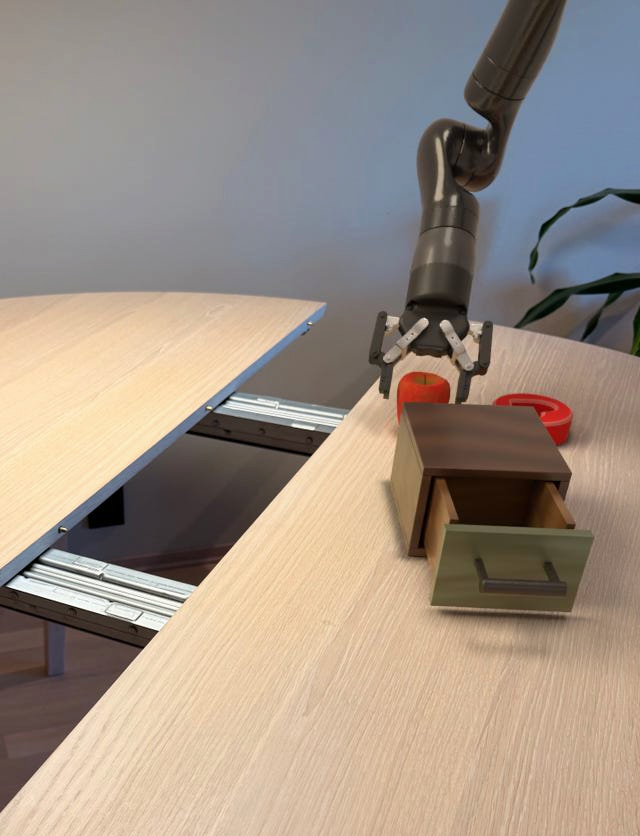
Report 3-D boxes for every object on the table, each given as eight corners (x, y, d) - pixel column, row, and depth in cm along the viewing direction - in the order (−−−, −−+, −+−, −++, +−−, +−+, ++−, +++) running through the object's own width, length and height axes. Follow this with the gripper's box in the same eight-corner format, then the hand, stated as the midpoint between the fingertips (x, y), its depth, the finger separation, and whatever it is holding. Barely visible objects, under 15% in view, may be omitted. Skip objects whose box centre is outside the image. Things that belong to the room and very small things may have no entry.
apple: (447, 429, 123) (458, 371, 119) (434, 447, 119) (446, 388, 114) (398, 419, 126) (407, 362, 121) (384, 437, 121) (393, 378, 117)
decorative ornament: (496, 410, 128) (501, 387, 126) (573, 424, 125) (579, 401, 123) (479, 437, 121) (484, 413, 120) (559, 453, 118) (566, 429, 116)
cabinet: (547, 562, 98) (572, 473, 92) (407, 555, 98) (423, 467, 93) (513, 488, 110) (533, 406, 105) (389, 483, 111) (402, 401, 105)
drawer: (585, 643, 85) (611, 565, 80) (438, 636, 86) (455, 558, 81) (533, 532, 101) (552, 461, 96) (409, 526, 101) (422, 456, 97)
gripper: (384, 255, 118) (363, 381, 116) (506, 264, 116) (487, 394, 113) (381, 287, 126) (361, 406, 124) (496, 297, 123) (478, 419, 121)
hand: (422, 400), depth 118 cm, fingers open, 8 cm apart
